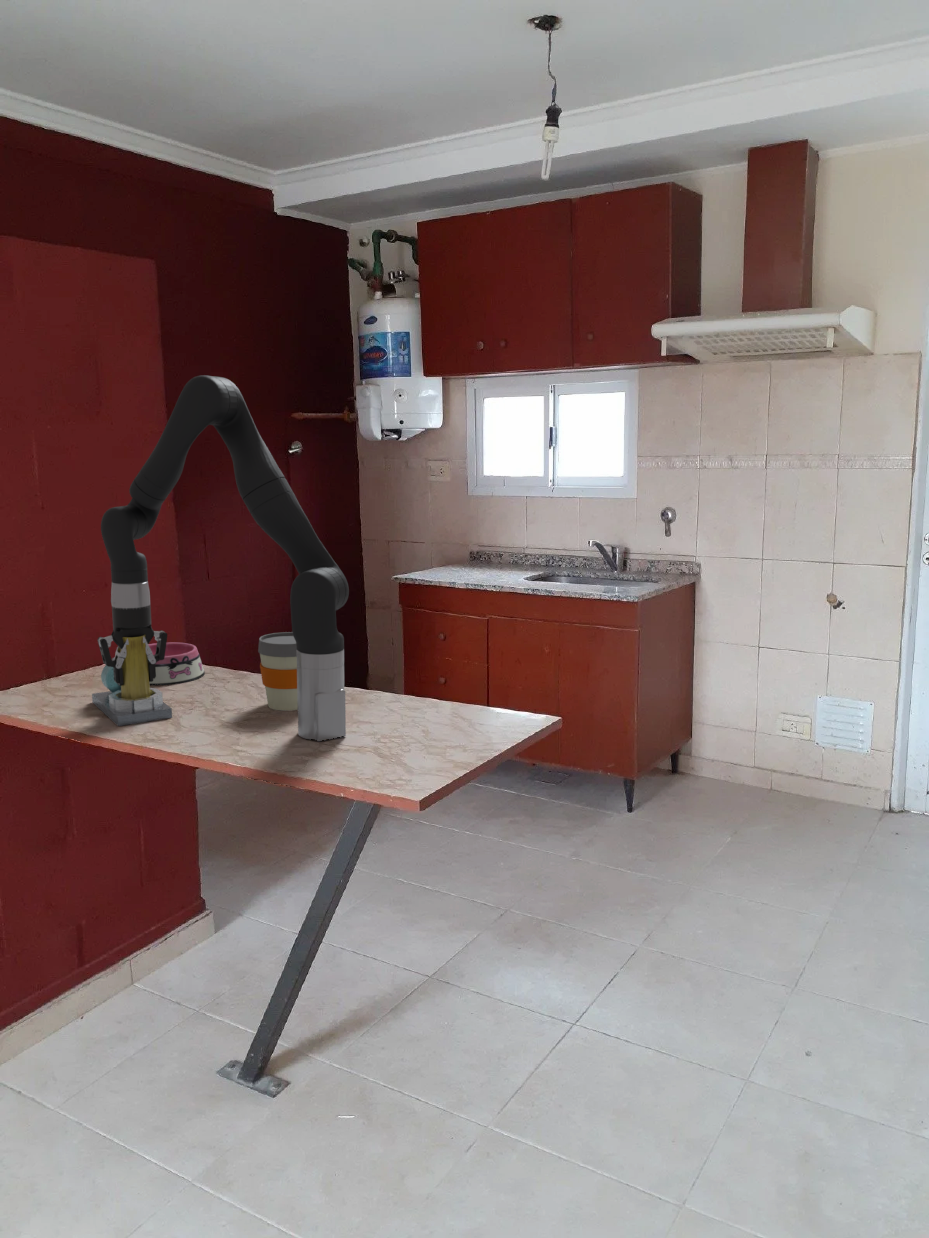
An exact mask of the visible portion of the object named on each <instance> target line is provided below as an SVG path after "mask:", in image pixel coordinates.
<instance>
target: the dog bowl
mask: <svg viewBox="0 0 929 1238" xmlns="http://www.w3.org/2000/svg"><path fill="white" fill-rule="evenodd" d="M148 645H149V647H150V649H151V651H152V654H153V655H155V653H156V646H157V642H156V643H149V644H148ZM155 667H156V677H155V678H154V679H153V681H152V682H149V684H150V686H171V685H178V684H179V685H180V684H184V683H185V684H186V683H190V682H193V681H196V680H199V679H201V678H202V677H204V675H205V674H206V672H205V669H204V666H203V663H202V659H201V656H200V653H199V651H198V648H197V646H196V645H194V644H191V643H185V642H175V641H174V642H171V641H170V642H168V641H167V643H166V650H165V657H164V659H163V660H160V661H158V662H156V664H155Z"/></svg>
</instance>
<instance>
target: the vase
mask: <svg viewBox="0 0 929 1238" xmlns="http://www.w3.org/2000/svg"><path fill="white" fill-rule="evenodd" d="M143 636H144V637H145V636H146V635H143ZM143 636H139V637H123V642H125V641H126V639H127V638H128V641H129V645H126V648H125V649H126V652H127V655H126V658H125V659H124V661H123V664H122V666H121V668H123V685H122V686H121V699H139V698H146V697H150V696H151V695H150V688H151V685H150V684H149V673H148V659H147V655H146V644H145V643H143ZM121 650H122V649H120V652H121Z"/></svg>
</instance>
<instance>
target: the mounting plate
mask: <svg viewBox="0 0 929 1238" xmlns="http://www.w3.org/2000/svg"><path fill="white" fill-rule="evenodd" d="M111 659H112V660H114V657H111ZM100 679H101V682H102V685H103V686H104V687H105V688H106V689H107V690H109V691H101V692H95V693H91V701H92V704H93V705H94V706H96V707H97V708H98V709H99V710H100V711H101V712H102V713H103V714H104V715H105V716H107V718H108V719H110V721H112V722H113V723H114V724H115V725H116V726H118V727H122V726H129V725H136V724H141V723H147V722H152V721H160V720H165V719H172V718H173V708H172V707H171V706H169V705H168V704H167V703H165V702H164V698H163V691H161V690H160V689H158V688H156V687H150V695H151V696H150V697H146V698H139V699H121V686H119V685H118V684H117V683H116V682H115V681H114V672H113V667H108V666H107V665H104V667H103V668H102V671H101V675H100Z"/></svg>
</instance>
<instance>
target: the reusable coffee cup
mask: <svg viewBox="0 0 929 1238" xmlns="http://www.w3.org/2000/svg"><path fill="white" fill-rule="evenodd" d="M257 650H258V651H257V652H258V654H259V657H260V663H259V669H260V676H261V680H262V685H263V686H264V688H265V696H266V700H267V706H268V708H270V709H271V710H274V711H284V712H285V711H298V705H297V651H296V650H297V649H296V641H295V638H294V636H293V632H292V631H291V632H290V631H288V632H287V631H285V632H284V631H283V632H273V633H268V634H264V635H261V636H260V637H259V639H258V649H257Z"/></svg>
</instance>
